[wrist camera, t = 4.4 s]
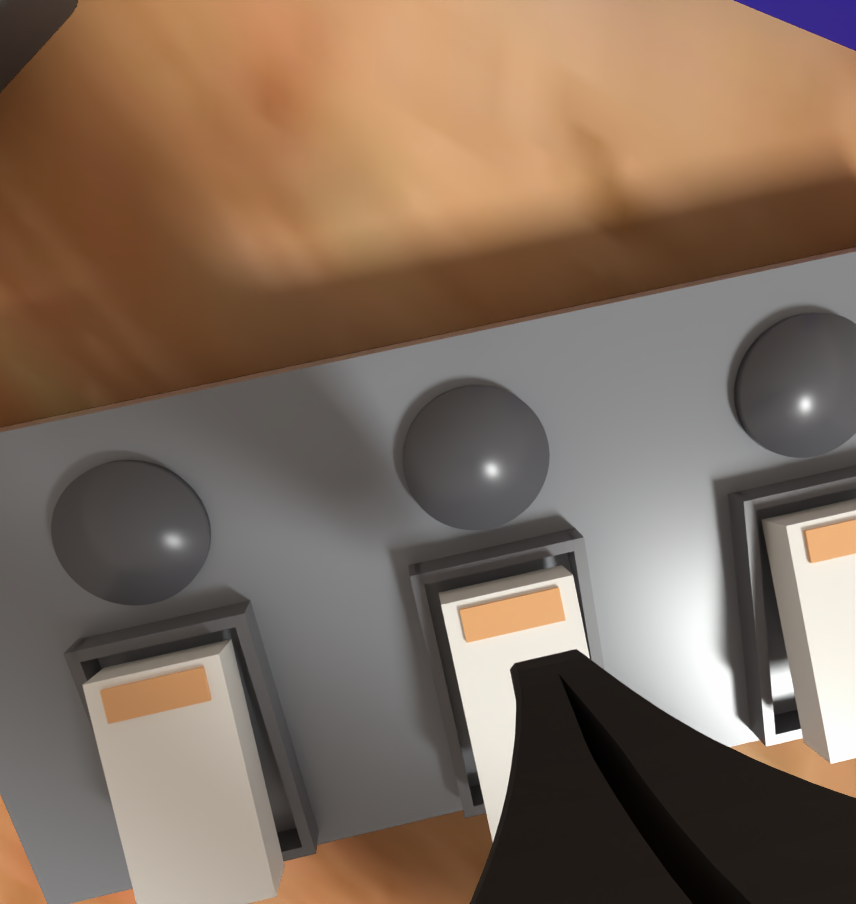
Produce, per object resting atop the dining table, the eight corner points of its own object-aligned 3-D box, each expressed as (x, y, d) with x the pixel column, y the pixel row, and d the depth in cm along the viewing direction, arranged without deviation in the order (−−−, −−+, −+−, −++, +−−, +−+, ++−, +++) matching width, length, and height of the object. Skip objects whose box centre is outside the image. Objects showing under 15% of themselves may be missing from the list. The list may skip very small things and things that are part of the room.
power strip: (1111, 584, 21) (1266, 639, 17) (98, 820, 20) (34, 933, 16) (1132, 188, 18) (1324, 153, 14) (-51, 438, 17) (-170, 469, 13)
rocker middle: (607, 787, 16) (622, 815, 14) (487, 816, 15) (493, 846, 14) (561, 565, 15) (573, 575, 14) (438, 592, 15) (441, 605, 14)
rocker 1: (284, 865, 15) (275, 899, 14) (160, 895, 15) (141, 931, 14) (231, 638, 15) (217, 655, 14) (103, 667, 15) (80, 686, 14)
